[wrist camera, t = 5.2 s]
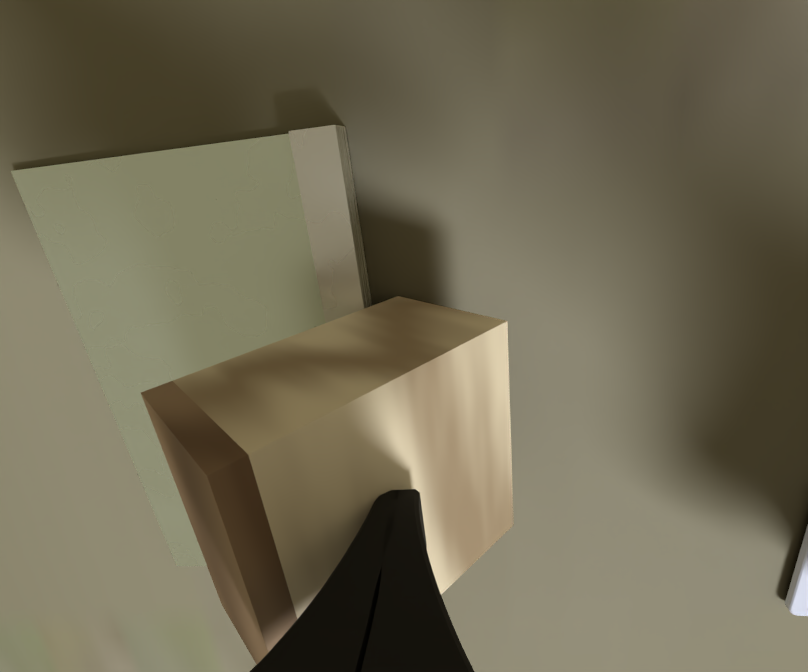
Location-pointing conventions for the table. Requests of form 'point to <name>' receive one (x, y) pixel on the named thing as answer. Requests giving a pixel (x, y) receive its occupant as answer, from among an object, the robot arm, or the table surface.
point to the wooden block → (339, 451)
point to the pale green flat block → (197, 268)
